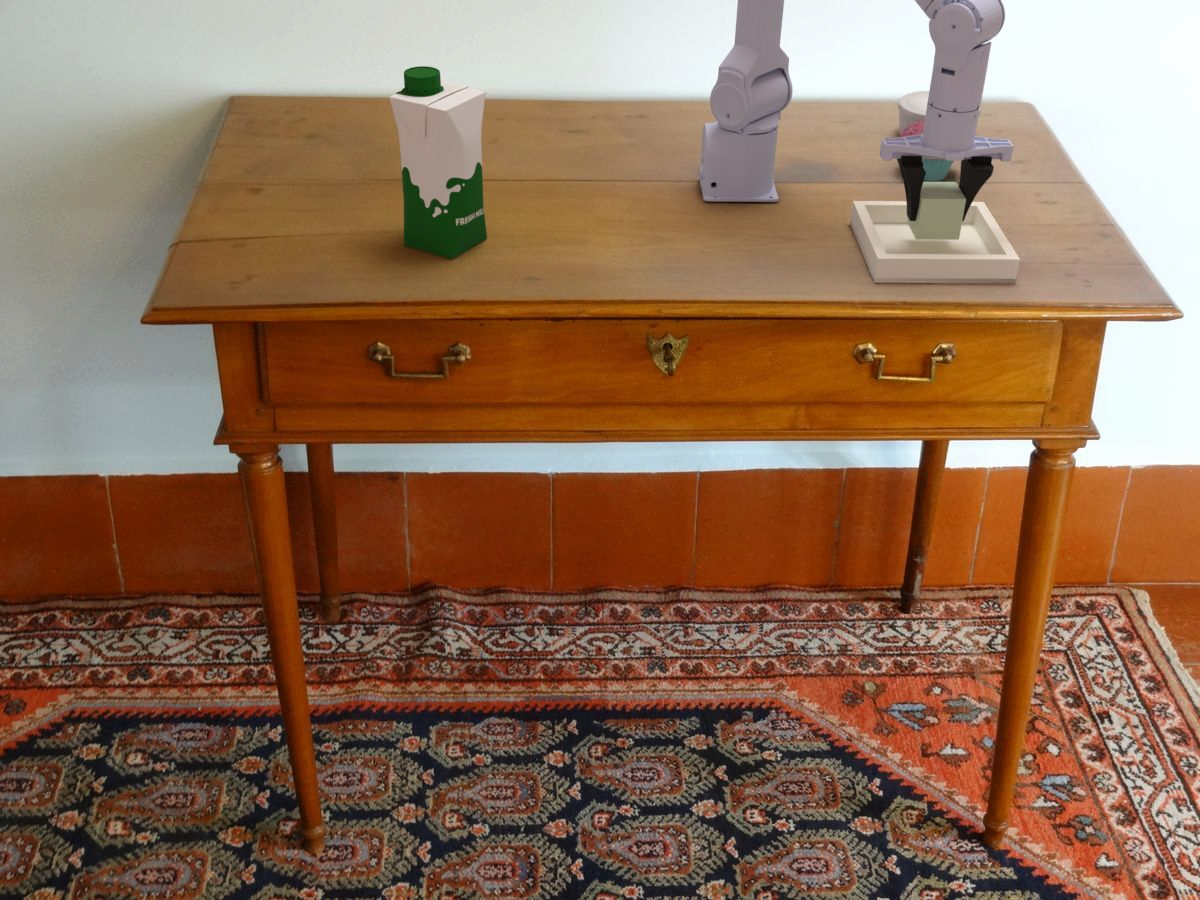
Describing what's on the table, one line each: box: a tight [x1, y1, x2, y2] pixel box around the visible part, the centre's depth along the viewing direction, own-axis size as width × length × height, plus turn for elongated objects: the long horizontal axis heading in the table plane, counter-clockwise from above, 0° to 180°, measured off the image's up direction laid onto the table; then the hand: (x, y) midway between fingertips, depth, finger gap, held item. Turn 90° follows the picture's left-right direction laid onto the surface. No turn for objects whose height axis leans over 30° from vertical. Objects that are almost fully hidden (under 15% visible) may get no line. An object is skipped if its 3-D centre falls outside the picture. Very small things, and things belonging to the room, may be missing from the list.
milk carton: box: [389, 65, 488, 260], centre depth 154 cm, size 9×9×20 cm
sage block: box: [907, 181, 966, 240], centre depth 156 cm, size 5×5×5 cm
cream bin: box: [849, 200, 1021, 285], centre depth 158 cm, size 16×16×3 cm
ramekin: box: [897, 90, 982, 133], centre depth 189 cm, size 11×11×5 cm
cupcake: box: [899, 120, 955, 182], centre depth 176 cm, size 9×8×12 cm
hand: (934, 217), depth 157 cm, fingers closed on sage block, 5 cm apart
